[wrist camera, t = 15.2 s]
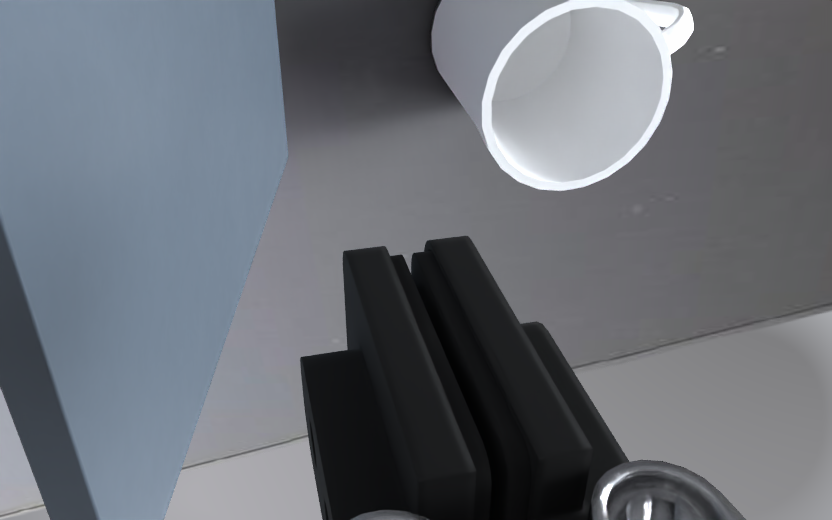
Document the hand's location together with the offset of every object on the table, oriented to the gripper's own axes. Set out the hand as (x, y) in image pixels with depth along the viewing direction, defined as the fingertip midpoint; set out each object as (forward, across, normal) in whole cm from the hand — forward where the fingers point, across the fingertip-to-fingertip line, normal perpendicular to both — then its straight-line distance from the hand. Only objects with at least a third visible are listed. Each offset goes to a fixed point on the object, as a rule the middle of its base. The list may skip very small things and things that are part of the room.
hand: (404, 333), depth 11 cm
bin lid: (+10, +3, 0) cm, 10 cm away
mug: (+32, -14, +6) cm, 36 cm away
